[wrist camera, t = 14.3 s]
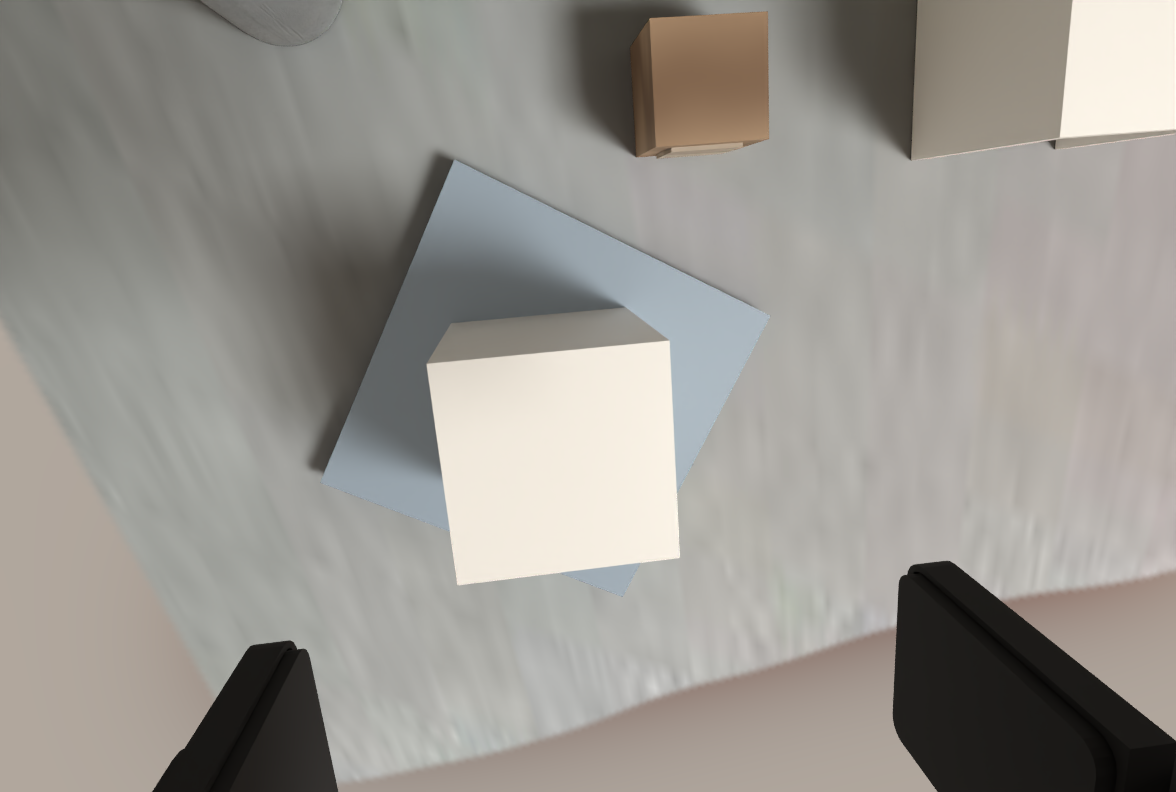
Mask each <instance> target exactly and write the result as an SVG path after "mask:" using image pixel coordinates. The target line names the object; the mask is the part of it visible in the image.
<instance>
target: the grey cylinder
mask: <svg viewBox="0 0 1176 792" xmlns="http://www.w3.org/2000/svg"><path fill="white" fill-rule="evenodd" d="M200 1H201V2H203V3H204V4H206V5H207V6H208V7H210V8H211V9H213V10H214V11H215V12H217V13H218V14H220V15H221V16H223V17H224V18H225V19H227V20H228V21H230V22H231V23H232V24H234V25H235V26H237V27H238V28H239V29H241V30H242V31H244V32H245V33H247V34H249V35H251V36H253V37H255V38H256V39H258V40H261V41H263V42H266V43H269V44H272V45H277V46H297V45H302V44H305V43H308V42H310V41H312V40H314V39H316V38H318V37H319V36H321V35H322V34H323V33H324V32H325V31H326V30H327V29H328V28H329V27H330V26H331V25H332V23H333V22H334V20H335V19H336V17H337V15H338V13H339V10H340V7H341V4H342V0H200Z"/></svg>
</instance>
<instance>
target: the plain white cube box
mask: <svg viewBox="0 0 1176 792" xmlns="http://www.w3.org/2000/svg"><path fill="white" fill-rule="evenodd" d="M1174 134H1176V0H918V3H917V28H916V52H915V77H914V101H913V125H912V150H911V160H924V159H931V158H938V157H944V156H951V155H957V154H964V153H971V152H977V151H984V150H990V149H997V148H1004V147H1010V146H1017V145H1023V144H1030V143H1037V142H1043V141H1050V140H1056V144H1055V149H1067V148H1075V147H1083V146H1090V145H1098V144H1106V143H1113V142H1121V141H1128V140H1136V139H1144V138H1151V137H1159V136H1166V135H1174Z"/></svg>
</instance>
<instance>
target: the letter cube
mask: <svg viewBox="0 0 1176 792" xmlns="http://www.w3.org/2000/svg"><path fill="white" fill-rule="evenodd" d="M630 57H631V75H632V92H633V110H634V128H635V145H636V157H648V156H657V159H659V158H673V157H686V156H700V155H713V154H723V153H726V152H729V151H732V150H736V149H739V148H742V147H745V146H748V145H751V144H754V143H758V142H761V141H764V140H767V139H769V91H768V12H750V13H733V14H715V15H697V16H680V17H662V18H649V20H648V21H647V23H646V24H645V26H644V27H643V29H642V30H641V32H640V33H639V35H638V36H637V38H636V39H635V41H634V42H633V44H632V45H631V47H630Z"/></svg>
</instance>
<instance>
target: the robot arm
mask: <svg viewBox="0 0 1176 792" xmlns="http://www.w3.org/2000/svg"><path fill="white" fill-rule="evenodd" d="M893 699H894V700H893V721H894V726H895V729H896V732H897V734H898V737H899V738H900V740H901V742H902V743H903V745H904V746H905V747H906V749H907V750H908V751H909V753H910V754H911V756H912V757H913V758H914V760H915V761H916V763H917V764H918V765H919V767H920V768H921V769H922V771H923V772H924V773H925V775H926V776H927V777H928V779H929V780H930V782H931V783H932V785H933V786H934V787H935V789H936V790H937V791H938V792H1176V741H1175V740H1174V739H1173V738H1172V737H1170V736H1169V735H1168V734H1167V733H1165V732H1164V731H1163V730H1162V729H1160V728H1159V727H1158V726H1157V725H1155V724H1154V723H1153V722H1152V721H1150V720H1149V719H1148V718H1147V717H1145V716H1144V715H1143V714H1142V713H1140V712H1139V711H1138V710H1137V709H1135V708H1134V707H1133V706H1132V705H1130V704H1129V703H1128V702H1126V701H1125V700H1124V699H1123V698H1122V697H1120V696H1119V695H1118V694H1117V693H1115V692H1114V691H1113V690H1112V689H1110V688H1109V687H1108V686H1107V685H1105V684H1104V683H1103V682H1101V681H1100V680H1099V679H1098V678H1097V677H1095V676H1094V675H1093V674H1092V673H1090V672H1089V671H1088V670H1087V669H1085V668H1084V667H1083V666H1082V665H1080V664H1079V663H1078V662H1077V661H1075V660H1074V659H1073V658H1072V657H1070V656H1069V655H1068V654H1067V653H1065V652H1064V651H1063V650H1062V649H1060V648H1059V647H1058V646H1057V645H1055V644H1054V643H1053V642H1052V641H1050V640H1049V639H1048V638H1047V637H1045V636H1044V635H1043V634H1041V633H1040V632H1039V631H1038V630H1036V629H1035V628H1034V627H1033V626H1032V625H1030V624H1029V623H1028V622H1027V621H1025V620H1024V619H1023V618H1022V617H1020V616H1019V615H1018V614H1017V613H1015V612H1014V611H1013V610H1012V609H1010V608H1009V607H1008V606H1007V605H1005V604H1004V603H1003V602H1002V601H1000V600H999V599H998V598H997V597H995V596H994V595H993V594H992V593H990V592H989V591H988V590H987V589H985V588H984V587H983V586H982V585H980V584H979V583H978V582H977V581H975V580H974V579H973V578H972V577H970V576H969V575H968V574H967V573H965V572H964V571H963V570H962V569H960V568H959V567H958V566H957V565H955V564H954V563H952V562H950V561H940V562H932V563H924V564H916V565H913V566H911V567H910V568H909V570H908V574H907V575H903V576H902V577H901V578H900V580H899V590H898V612H897V633H896V655H895V677H894V698H893ZM152 792H338V789H337V784H336V779H335V774H334V770H333V765H332V760H331V756H330V751H329V746H328V741H327V737H326V732H325V727H324V722H323V718H322V713H321V708H320V704H319V699H318V694H317V689H316V685H315V680H314V675H313V671H312V666H311V661H310V657H309V654H308V652H307V650H306V649H298V650H297V648H296V646H295V644H294V642H292V641H282V642H274V643H266V644H257V645H252V646H250V647H249V648H248V650H247V651H246V652H245V654H244V656H243V657H242V659H241V660H240V662H239V663H238V665H237V667H236V668H235V670H234V671H233V673H232V674H231V676H230V678H229V679H228V681H227V682H226V684H225V686H224V687H223V689H222V690H221V692H220V693H219V695H218V697H217V698H216V700H215V701H214V703H213V705H212V706H211V708H210V709H209V711H208V712H207V714H206V716H205V717H204V719H203V720H202V722H201V723H200V725H199V727H198V728H197V730H196V732H195V733H194V735H193V736H192V738H191V739H190V741H189V742H188V744H187V746H186V747H185V749H183V750H181V751H180V752H179V753H178V754H177V755H176V757H175V758H174V759H173V760H172V762H171V763H170V765H169V767H168V768H167V770H166V771H165V773H164V774H163V776H162V777H161V779H160V781H159V782H158V784H157V785H156V787H155V788H154V790H153V791H152Z"/></svg>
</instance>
